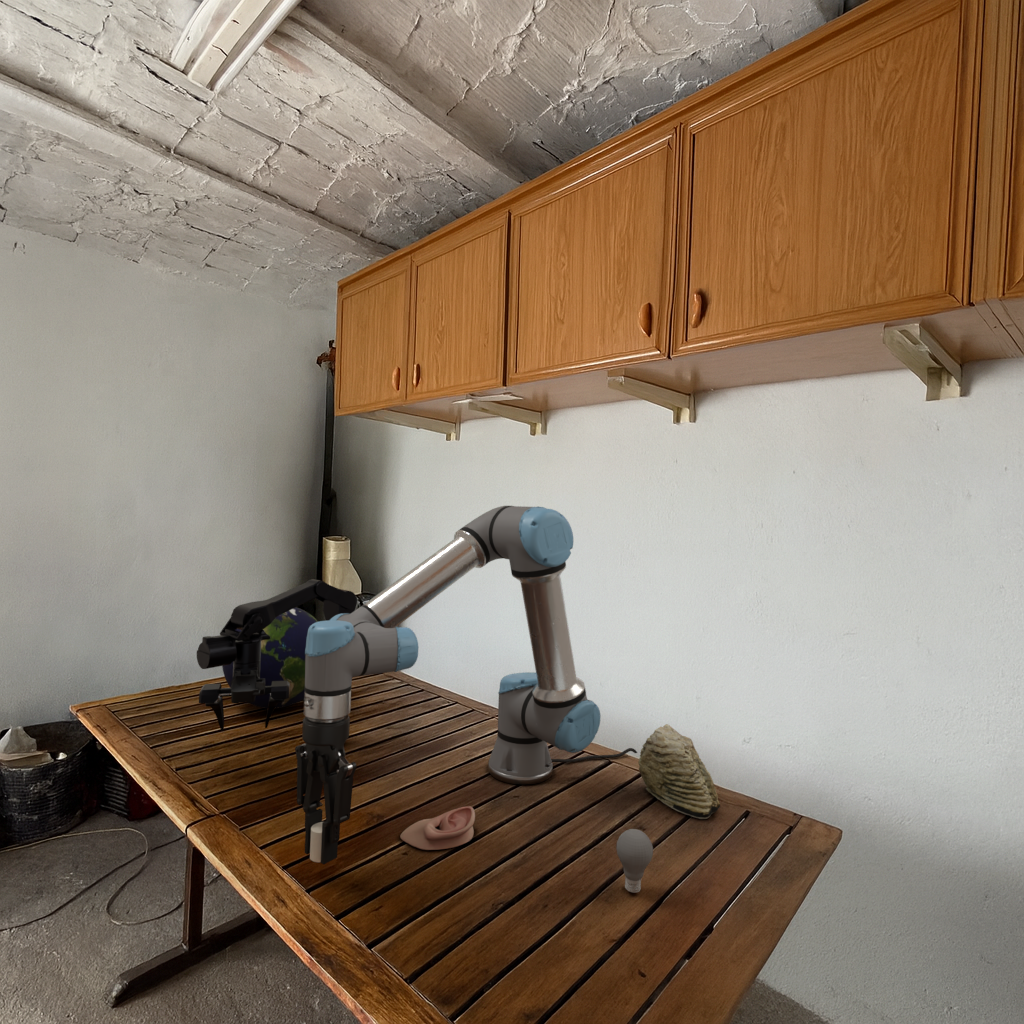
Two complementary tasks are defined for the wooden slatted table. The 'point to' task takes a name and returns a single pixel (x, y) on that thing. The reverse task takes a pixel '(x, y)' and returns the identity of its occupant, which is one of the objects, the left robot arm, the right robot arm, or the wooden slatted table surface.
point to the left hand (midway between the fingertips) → (244, 729)
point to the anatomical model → (442, 830)
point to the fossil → (677, 774)
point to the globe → (282, 656)
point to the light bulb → (634, 857)
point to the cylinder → (316, 842)
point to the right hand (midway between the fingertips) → (320, 854)
